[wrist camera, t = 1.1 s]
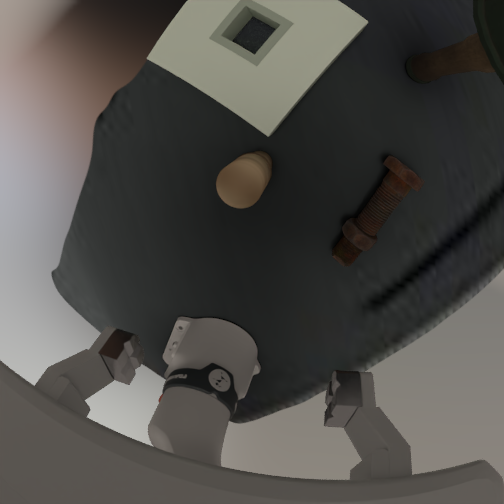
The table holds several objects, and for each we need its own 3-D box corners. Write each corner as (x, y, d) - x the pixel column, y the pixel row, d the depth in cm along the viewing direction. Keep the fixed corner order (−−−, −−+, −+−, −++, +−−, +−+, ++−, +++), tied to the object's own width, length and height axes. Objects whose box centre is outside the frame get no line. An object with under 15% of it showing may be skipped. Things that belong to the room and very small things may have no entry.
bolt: (334, 243, 39) (395, 157, 31) (359, 267, 38) (425, 182, 30) (317, 251, 35) (387, 151, 27) (346, 278, 33) (423, 180, 25)
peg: (263, 186, 36) (244, 217, 26) (236, 165, 35) (207, 189, 25) (283, 160, 33) (272, 182, 24) (256, 139, 33) (233, 152, 23)
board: (272, 133, 32) (267, 136, 29) (162, 61, 29) (146, 58, 26) (362, 30, 23) (368, 21, 20) (241, -37, 21) (233, -50, 17)
